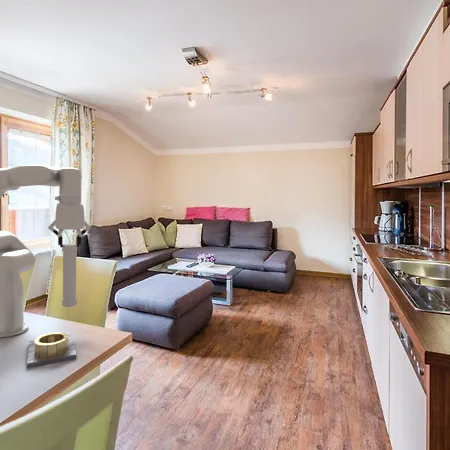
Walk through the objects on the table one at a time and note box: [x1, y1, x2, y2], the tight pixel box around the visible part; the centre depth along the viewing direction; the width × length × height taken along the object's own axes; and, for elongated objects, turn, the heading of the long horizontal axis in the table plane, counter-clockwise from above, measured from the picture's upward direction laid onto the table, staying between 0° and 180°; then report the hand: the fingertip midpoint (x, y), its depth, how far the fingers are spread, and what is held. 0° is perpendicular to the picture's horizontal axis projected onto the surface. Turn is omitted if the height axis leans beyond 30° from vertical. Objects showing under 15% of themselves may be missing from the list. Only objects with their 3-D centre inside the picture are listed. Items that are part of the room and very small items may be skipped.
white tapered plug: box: [61, 230, 78, 308], centre depth 124 cm, size 6×6×30 cm
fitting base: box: [26, 331, 77, 369], centre depth 111 cm, size 18×14×6 cm
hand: (69, 246), depth 124 cm, fingers closed on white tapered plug, 5 cm apart
